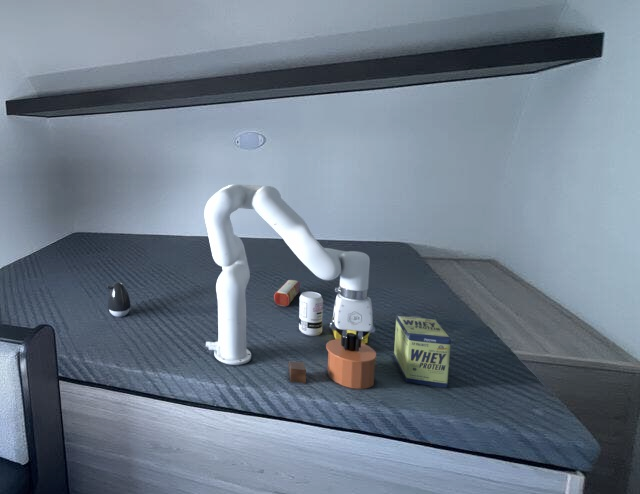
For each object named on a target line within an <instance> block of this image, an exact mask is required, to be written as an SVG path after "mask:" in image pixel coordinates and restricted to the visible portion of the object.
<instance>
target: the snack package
mask: <svg viewBox="0 0 640 494" xmlns="http://www.w3.org/2000/svg"><path fill="white" fill-rule="evenodd" d="M300 291H301V285H300V282H299V281H298V280H294V279H287V281H286V282H285V283H284V284H282V286H281V287H280V288H279V289H277V290H276V291H275V293H274V294H273V299H274V303H275V305H277V306H281V307H288V306H290V304H291V303H292V301H293V300H294V299H295V298H296V296H297V295H298V294H299V293H300Z"/></svg>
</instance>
